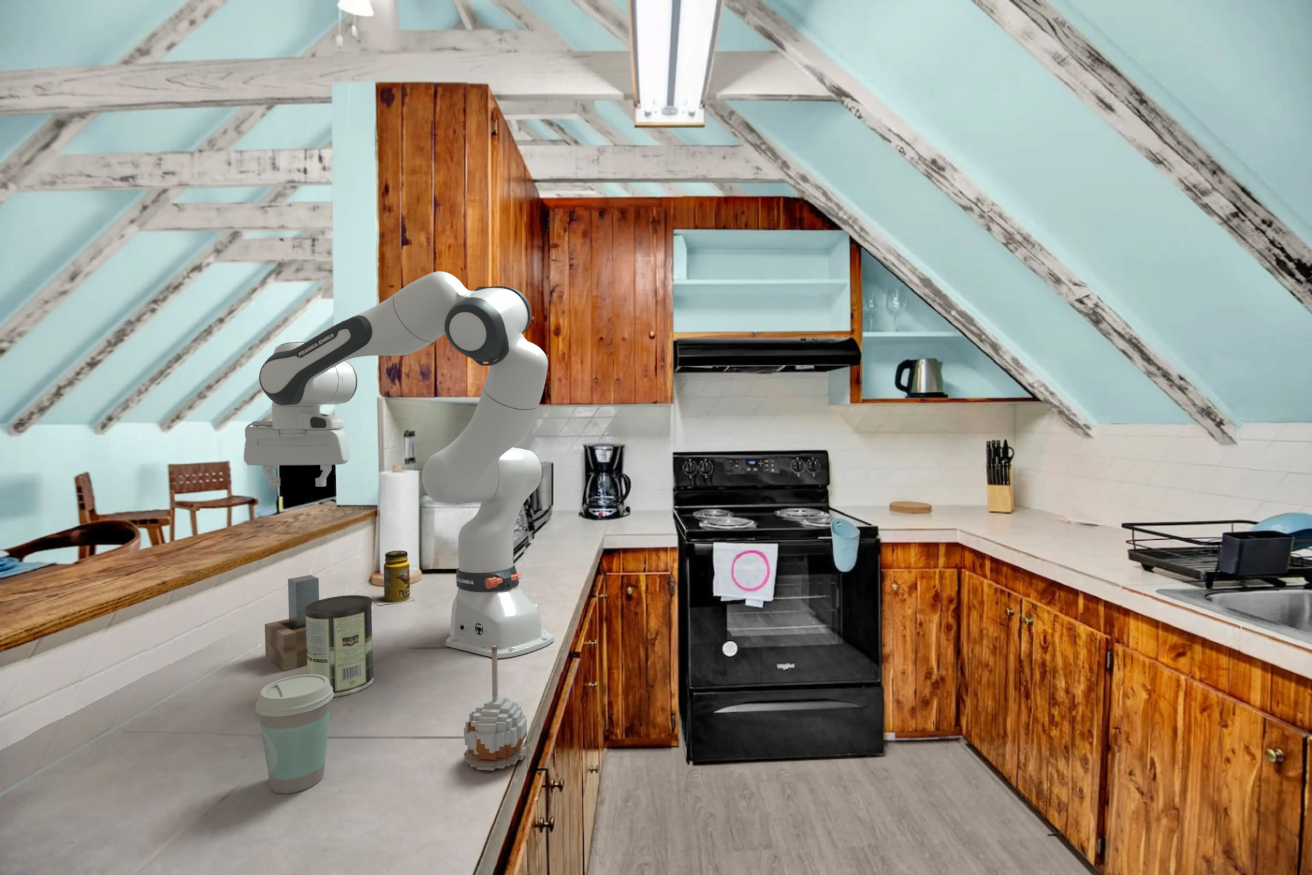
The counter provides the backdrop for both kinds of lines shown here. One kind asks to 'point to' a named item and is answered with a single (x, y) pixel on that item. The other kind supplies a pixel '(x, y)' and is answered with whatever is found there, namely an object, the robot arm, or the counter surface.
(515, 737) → the voxel caramel apple
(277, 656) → the walnut holder
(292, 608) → the steel bar
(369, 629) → the coffee can
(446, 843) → the counter surface
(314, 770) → the coffee cup
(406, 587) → the condiment
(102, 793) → the counter surface
